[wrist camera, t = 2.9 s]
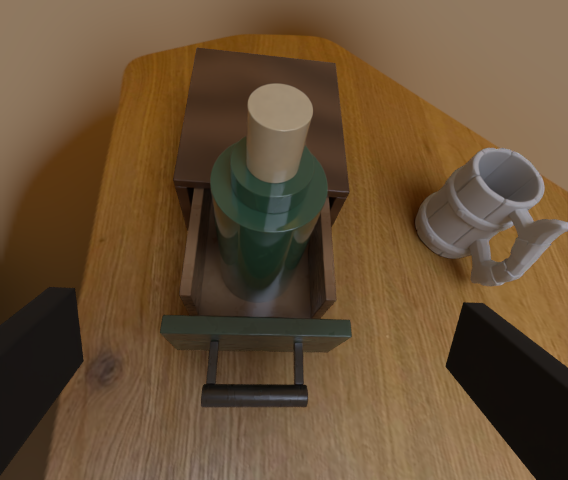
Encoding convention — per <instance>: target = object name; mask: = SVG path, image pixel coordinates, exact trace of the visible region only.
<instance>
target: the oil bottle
mask: <svg viewBox="0 0 568 480" xmlns="http://www.w3.org/2000/svg"><path fill="white" fill-rule="evenodd" d="M312 116H313V107H312V103H311V101H310V100H309V98H308V97H307V96H306V95H305V94H304V93H303V92H302V91H300V90H299V89H297V88H295V87H292V86H289V85H286V84H267V85H264V86H261V87H259V88H257V89H256V90H255V91H253V92H252V94H251V95H250V97H249V99H248V103H247V134H246V136H245V137H243V138H242V139H241V140H240V141H238V142H236V143H234V144H232V145H231V146H229V147H228V148H227V149H225V150H224V151H223V152H222V153H221V154H220V156H219V157H218V158H217V160H216V161H215V163H214V165H213V168H212V171H211V176H210V187H211V195H212V203H213V211H214V220H215V228H216V236H217V244H218V252H219V260H220V268H221V275H222V278H223V281H224V283H225V285H226V287H227V288H228V289H229V290H230V291H231V292H232V293H233V294H234V295H235V296H237V297H238V298H240V299H242V300H245V301H248V302H253V303H263V302H268V301H271V300H274V299H276V298H278V297H279V296H281V295H282V294H283V293H284V292H285V291H286V290H287V289H288V287H289V286H290V284H291V282H292V280H293V277H294V275H295V273H296V270H297V268H298V265H299V263H300V261H301V258H302V256H303V254H304V251H305V249H306V246H307V244H308V242H309V239H310V237H311V235H312V232H313V230H314V227H315V225H316V223H317V220H318V218H319V216H320V213H321V211H322V208H323V206H324V204H325V201H326V198H327V193H328V184H327V178H326V174H325V172H324V169H323V167H322V166H321V164H320V163H319V161H318V160H317V159H316V157H315V156H314V155H313V154H312V153H311V152H310V151H309V149H308V148H307V147H306V145H305V143H306V139H307V135H308V131H309V127H310V123H311V119H312Z"/></svg>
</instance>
